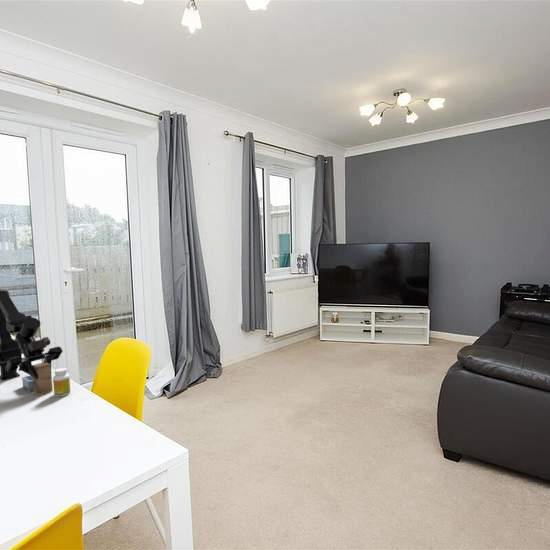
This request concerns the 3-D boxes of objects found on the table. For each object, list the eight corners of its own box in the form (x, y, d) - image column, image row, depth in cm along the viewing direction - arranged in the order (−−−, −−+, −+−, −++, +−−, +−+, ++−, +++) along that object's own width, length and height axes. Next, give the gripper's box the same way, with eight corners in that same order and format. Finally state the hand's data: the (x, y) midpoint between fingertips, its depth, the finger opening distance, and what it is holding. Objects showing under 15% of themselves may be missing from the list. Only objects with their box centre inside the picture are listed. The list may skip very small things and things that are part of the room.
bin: (22, 386, 152) (22, 377, 151) (43, 381, 157) (42, 372, 157) (28, 391, 147) (28, 381, 147) (49, 385, 152) (48, 376, 152)
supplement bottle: (65, 397, 142) (63, 372, 140) (51, 397, 142) (49, 372, 141) (73, 391, 147) (71, 367, 146) (59, 391, 147) (57, 367, 146)
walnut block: (34, 392, 146) (32, 365, 145) (46, 388, 150) (44, 361, 148) (40, 395, 143) (38, 367, 142) (52, 391, 147) (50, 363, 146)
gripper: (6, 337, 138) (23, 372, 134) (58, 326, 154) (75, 357, 149) (-2, 354, 144) (14, 389, 139) (50, 342, 159) (65, 373, 154)
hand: (44, 376), depth 145 cm, fingers closed on walnut block, 4 cm apart
